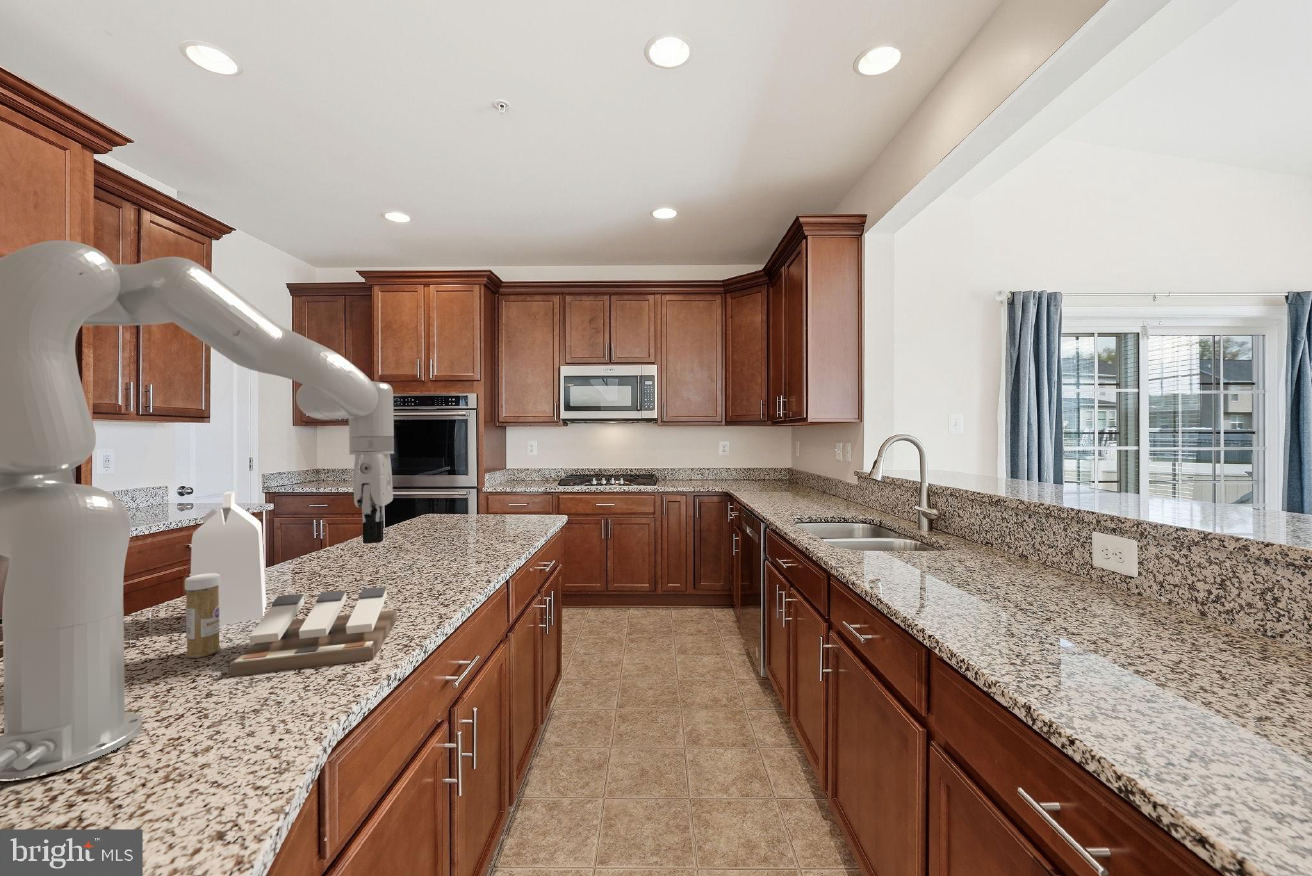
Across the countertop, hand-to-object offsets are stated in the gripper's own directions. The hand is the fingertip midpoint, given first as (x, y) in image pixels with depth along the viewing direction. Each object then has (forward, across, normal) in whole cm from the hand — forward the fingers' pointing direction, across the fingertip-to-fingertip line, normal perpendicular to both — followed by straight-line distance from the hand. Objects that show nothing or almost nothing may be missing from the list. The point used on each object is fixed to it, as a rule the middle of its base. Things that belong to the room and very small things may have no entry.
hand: (373, 542), depth 100 cm
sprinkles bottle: (+17, -3, +26) cm, 31 cm away
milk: (+17, +18, +31) cm, 40 cm away
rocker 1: (+12, -5, +14) cm, 19 cm away
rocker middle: (+12, -5, +7) cm, 14 cm away
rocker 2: (+12, -5, 0) cm, 12 cm away
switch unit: (+17, -5, +7) cm, 19 cm away
